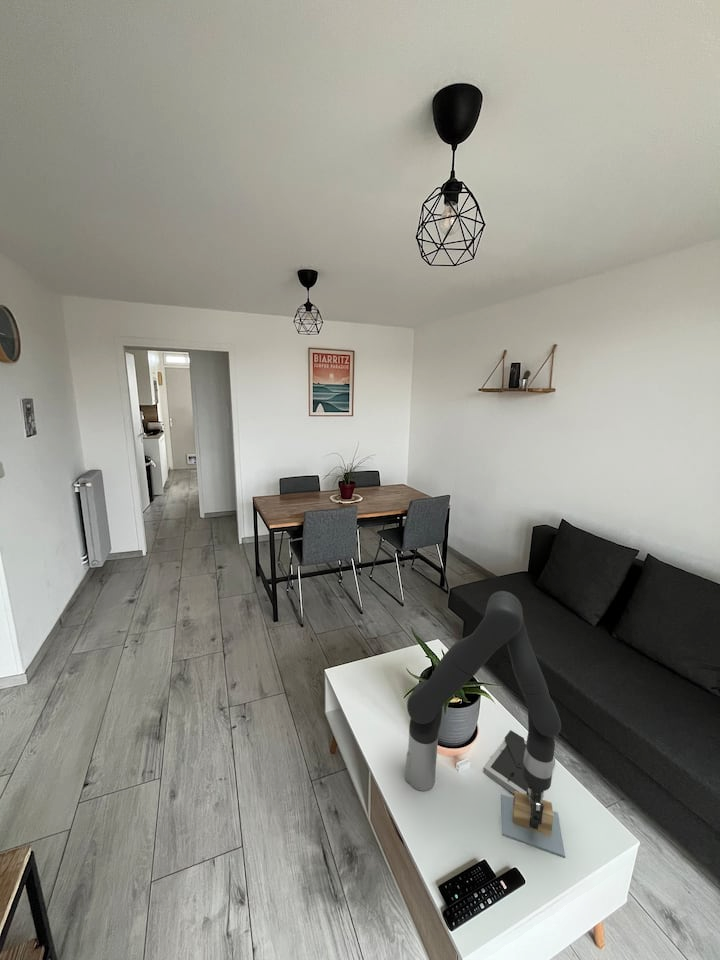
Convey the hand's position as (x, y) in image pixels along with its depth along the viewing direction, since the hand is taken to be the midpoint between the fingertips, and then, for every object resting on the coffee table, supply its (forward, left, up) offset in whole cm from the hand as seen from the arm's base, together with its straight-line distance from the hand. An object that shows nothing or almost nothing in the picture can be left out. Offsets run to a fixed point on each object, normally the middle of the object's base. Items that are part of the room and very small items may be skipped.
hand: (531, 812), depth 109 cm
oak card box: (0, 0, -4) cm, 4 cm away
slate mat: (0, 0, -4) cm, 4 cm away
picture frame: (-2, +18, -4) cm, 18 cm away
